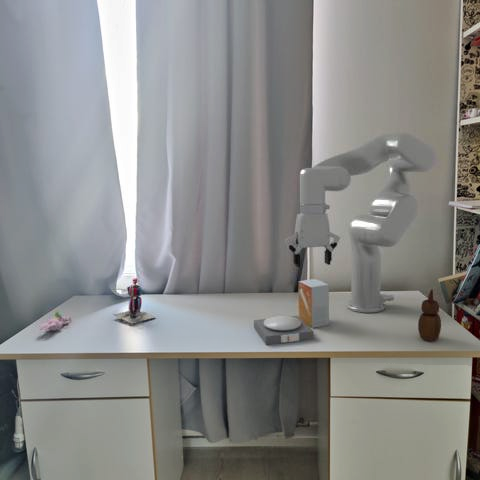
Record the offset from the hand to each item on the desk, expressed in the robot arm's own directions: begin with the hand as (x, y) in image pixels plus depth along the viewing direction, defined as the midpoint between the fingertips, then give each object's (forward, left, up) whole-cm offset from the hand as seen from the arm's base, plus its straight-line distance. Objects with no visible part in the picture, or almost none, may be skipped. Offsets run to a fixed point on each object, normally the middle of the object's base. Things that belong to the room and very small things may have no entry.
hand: (312, 265), depth 151 cm
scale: (+12, +6, -19) cm, 23 cm away
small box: (0, 0, -19) cm, 19 cm away
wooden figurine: (-26, +22, -19) cm, 39 cm away
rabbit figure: (+79, -18, -19) cm, 83 cm away
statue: (+55, -21, -19) cm, 62 cm away
